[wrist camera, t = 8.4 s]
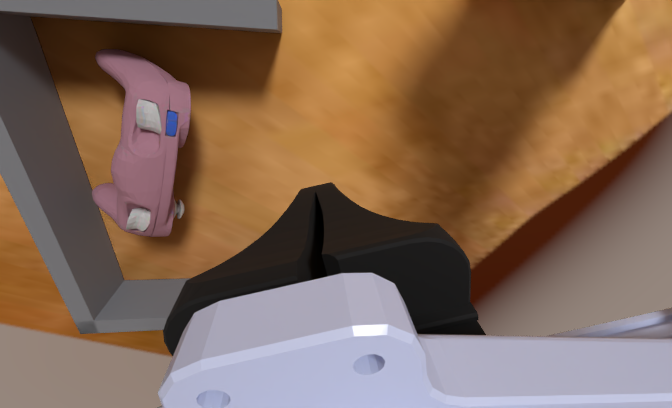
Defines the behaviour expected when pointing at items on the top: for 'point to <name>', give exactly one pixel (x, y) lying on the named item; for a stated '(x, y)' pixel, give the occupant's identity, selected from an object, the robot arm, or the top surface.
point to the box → (65, 163)
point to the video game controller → (145, 145)
